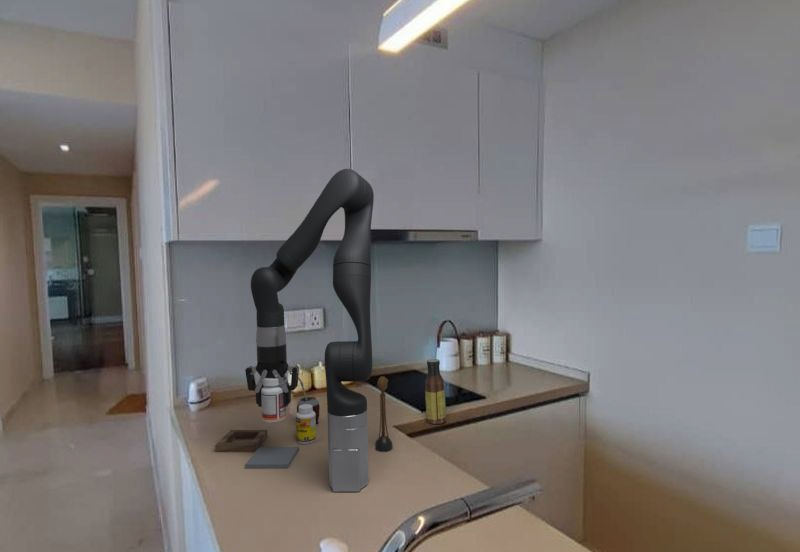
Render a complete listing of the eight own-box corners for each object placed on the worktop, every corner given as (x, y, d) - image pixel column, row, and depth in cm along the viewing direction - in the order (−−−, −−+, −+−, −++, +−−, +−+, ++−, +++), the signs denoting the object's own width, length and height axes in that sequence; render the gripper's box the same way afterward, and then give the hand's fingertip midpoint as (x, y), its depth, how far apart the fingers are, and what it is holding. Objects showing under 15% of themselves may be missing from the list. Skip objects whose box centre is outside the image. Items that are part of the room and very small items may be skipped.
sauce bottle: (444, 418, 152) (443, 357, 151) (447, 424, 146) (446, 361, 145) (424, 418, 152) (423, 358, 151) (426, 425, 145) (425, 362, 145)
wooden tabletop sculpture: (380, 442, 133) (379, 373, 132) (395, 444, 131) (394, 374, 130) (372, 450, 127) (371, 378, 126) (388, 452, 126) (387, 379, 125)
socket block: (254, 451, 128) (254, 444, 128) (215, 452, 128) (215, 444, 128) (267, 436, 139) (267, 429, 139) (231, 436, 139) (230, 430, 139)
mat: (288, 468, 117) (288, 464, 117) (245, 468, 118) (244, 464, 118) (299, 450, 128) (299, 446, 128) (259, 450, 129) (259, 446, 129)
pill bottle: (281, 413, 128) (280, 372, 127) (289, 420, 122) (288, 377, 122) (259, 417, 124) (257, 376, 124) (265, 425, 119) (264, 381, 118)
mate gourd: (318, 427, 145) (317, 380, 145) (292, 428, 145) (291, 380, 144) (321, 419, 153) (320, 374, 152) (296, 420, 152) (295, 374, 152)
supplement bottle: (292, 442, 134) (291, 407, 133) (305, 436, 139) (304, 402, 138) (307, 446, 131) (306, 410, 131) (320, 439, 136) (319, 404, 136)
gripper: (302, 339, 126) (304, 401, 126) (249, 340, 126) (252, 401, 127) (294, 345, 118) (296, 410, 119) (238, 345, 119) (241, 410, 120)
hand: (273, 405), depth 123 cm, fingers closed on pill bottle, 6 cm apart
